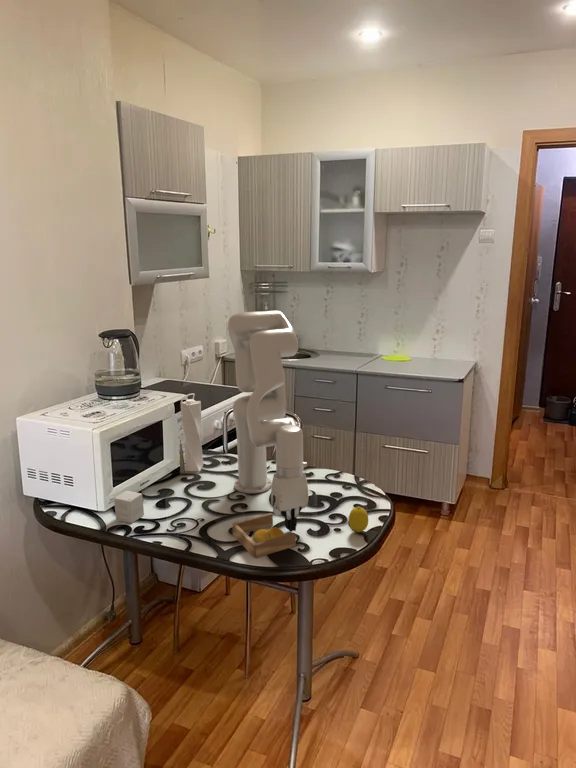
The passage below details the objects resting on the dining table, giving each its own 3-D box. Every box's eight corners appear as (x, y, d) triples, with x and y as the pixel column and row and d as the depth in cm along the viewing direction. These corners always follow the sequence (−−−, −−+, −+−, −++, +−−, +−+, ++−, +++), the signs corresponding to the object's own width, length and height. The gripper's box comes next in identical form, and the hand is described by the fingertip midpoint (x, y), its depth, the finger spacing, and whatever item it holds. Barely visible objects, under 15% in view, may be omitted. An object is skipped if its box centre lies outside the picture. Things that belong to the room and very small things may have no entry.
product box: (144, 515, 181) (142, 493, 179) (131, 524, 175) (129, 501, 174) (128, 511, 183) (126, 490, 181) (115, 520, 178) (113, 498, 176)
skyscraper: (185, 464, 220) (181, 392, 213) (207, 465, 219) (203, 392, 212) (179, 473, 212) (174, 399, 205) (201, 474, 211) (197, 399, 204)
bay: (232, 534, 168) (231, 523, 167) (271, 523, 174) (271, 512, 173) (254, 558, 156) (254, 546, 155) (295, 545, 162) (295, 533, 161)
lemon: (366, 527, 171) (366, 502, 169) (369, 537, 166) (370, 511, 164) (347, 528, 171) (347, 502, 169) (350, 537, 165) (350, 511, 163)
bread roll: (251, 537, 167) (250, 524, 166) (282, 534, 168) (282, 521, 167) (254, 552, 159) (254, 539, 158) (287, 549, 160) (287, 536, 159)
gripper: (306, 460, 171) (306, 517, 175) (259, 470, 164) (261, 530, 169) (319, 468, 164) (320, 528, 169) (271, 479, 158) (273, 541, 162)
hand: (290, 529), depth 169 cm, fingers closed
